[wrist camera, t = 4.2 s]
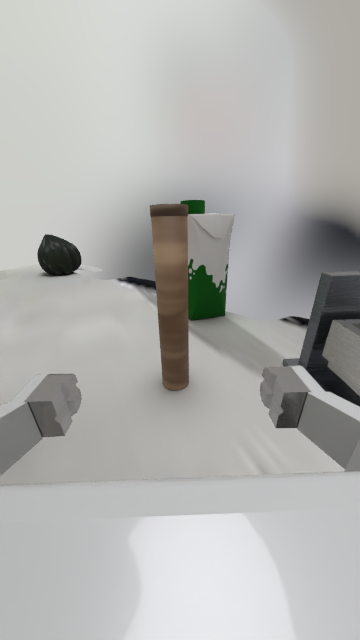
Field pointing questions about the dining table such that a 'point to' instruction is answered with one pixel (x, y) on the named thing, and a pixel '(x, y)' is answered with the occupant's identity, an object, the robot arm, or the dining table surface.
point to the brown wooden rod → (172, 290)
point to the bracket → (334, 336)
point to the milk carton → (207, 260)
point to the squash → (58, 256)
